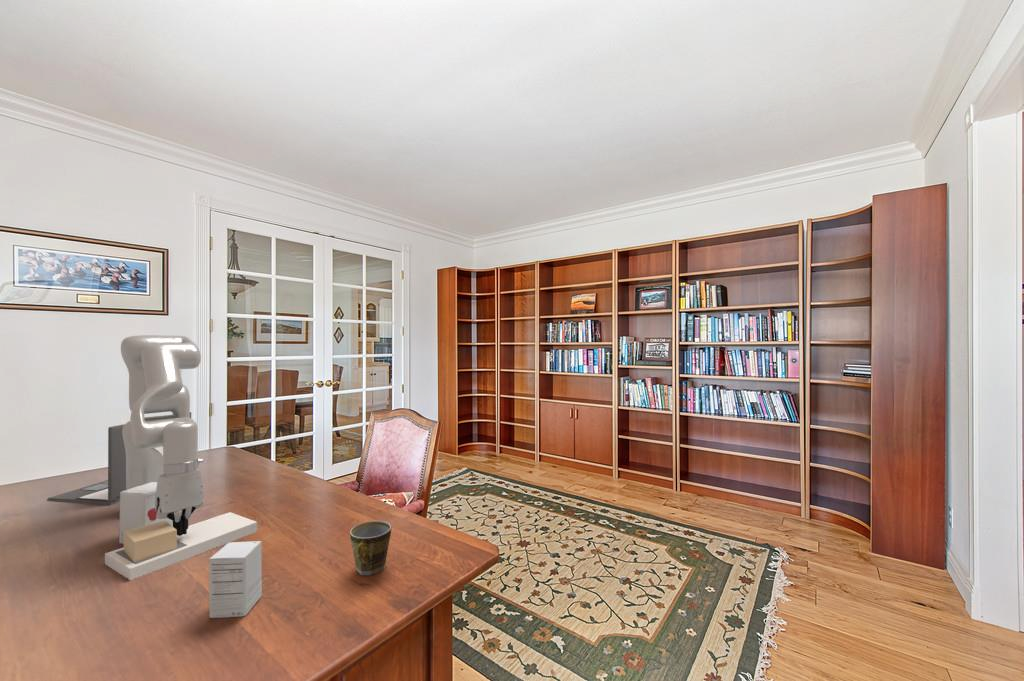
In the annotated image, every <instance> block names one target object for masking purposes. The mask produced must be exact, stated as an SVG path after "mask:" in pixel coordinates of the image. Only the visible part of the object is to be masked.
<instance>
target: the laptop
mask: <svg viewBox="0 0 1024 681" xmlns="http://www.w3.org/2000/svg"><path fill="white" fill-rule="evenodd" d="M190 418H191V419H192V412H191V411H190ZM125 424H126V423H124V424H119V425H112V426H109V427H108V428H107V429H108V430H107V432H108V434H107V435H108V436H107V438H108V439H107V440H108V441H107V450H108V451H107V452H108V453H107V455H108V456H107V475H108V476H107V480H104V481H100V482H97V483H93V484H90V485H87V486H83V487H80V488H77V489H73V490H71V491H67V492H64V493H60V494H57V495H53V496H50V497H48V498H46V502H60V503H61V502H62V503H75V504H85V505H87V504H88V505H101V506H112V505H116V504H118V503H120V492H122V491H125V490H126V452H125V445H124V440H123V435H122V429H123V427H124V425H125ZM155 449H156V450H158V451H159V452H160V453H161V454H162V456H163V447H157V448H155Z"/></svg>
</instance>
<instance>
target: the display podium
mask: <svg viewBox="0 0 1024 681" xmlns="http://www.w3.org/2000/svg"><path fill="white" fill-rule="evenodd" d="M257 532H258V522H257V521H256V520H253V519H249V518H247V517H245V516H241V515H239V514H236V513H234V512H231V511H230V512H226V513H223V514H221V515H217V516H214V517H211V518H209V519H206V520H201V521H199V522H195V523H194V524H190V525H188V529H187V534H183V535H181V536H178V535H177V549H175V550H172V551H169V552H166V553H162V554H159V555H156V556H153V557H150V558H147V559H144V560H141V561H138V562H135V563H134V562H133V560H132V559H131V558H130V557H129V556H128V555H127V554H126V553H125V552H124V546H123V547H121V548H118V549H115V550H112V551H109V552H105V553H104V564H105V565H106V566H108V567H109V568H110V569H112V570H113V571H115V572H116V573H118V574H120V575H121V576H122V575H123V576H122V577H124V578H126V579H127V578H128V579H127V580H128V581H130V580H131V581H132V580H135V578H136V579H138V578H141V577H143V575H144V576H146V575H149V574H151V573H154V572H157V571H159V570H161V569H164V568H166V567H169V566H172V565H174V564H177V563H180V562H182V561H185V560H187V559H190V558H194V557H195V555H196V556H198V555H201V554H203V552H204V553H206V552H208V550H209V551H211V550H213V548H214V549H217V548H218V547H219V548H220V547H222V546H225V545H226V544H227V543H230V542H236V541H237V540H239V539H243V538H245V537H248V536H250V535H254V534H256V533H257ZM216 547H217V548H216ZM200 553H201V554H200ZM156 570H157V571H156ZM153 571H154V572H153Z"/></svg>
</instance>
